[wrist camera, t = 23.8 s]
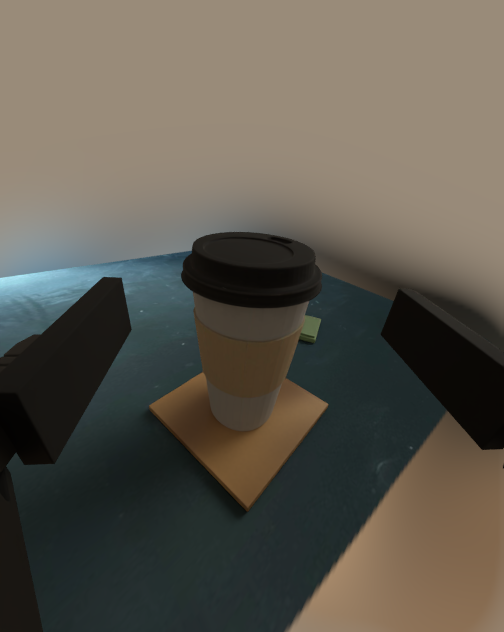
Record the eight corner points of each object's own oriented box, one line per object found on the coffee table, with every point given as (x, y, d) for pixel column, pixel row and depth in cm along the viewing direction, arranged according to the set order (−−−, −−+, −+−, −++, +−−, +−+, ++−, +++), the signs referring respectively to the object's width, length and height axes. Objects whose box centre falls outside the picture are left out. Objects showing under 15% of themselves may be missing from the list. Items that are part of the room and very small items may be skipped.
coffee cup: (294, 380, 28) (325, 239, 20) (286, 466, 20) (333, 285, 12) (210, 363, 29) (210, 224, 21) (170, 437, 21) (148, 257, 13)
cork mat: (327, 408, 26) (328, 404, 25) (247, 512, 17) (247, 508, 17) (238, 352, 32) (238, 349, 32) (149, 410, 24) (148, 405, 23)
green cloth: (320, 322, 40) (321, 317, 39) (314, 343, 35) (315, 338, 35) (259, 307, 43) (259, 302, 42) (245, 324, 38) (246, 319, 37)
